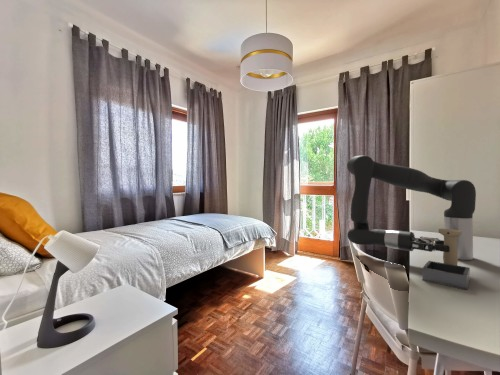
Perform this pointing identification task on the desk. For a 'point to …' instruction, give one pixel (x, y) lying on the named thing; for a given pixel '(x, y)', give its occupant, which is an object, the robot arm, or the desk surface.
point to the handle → (450, 245)
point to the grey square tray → (446, 274)
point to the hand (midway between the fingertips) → (451, 246)
